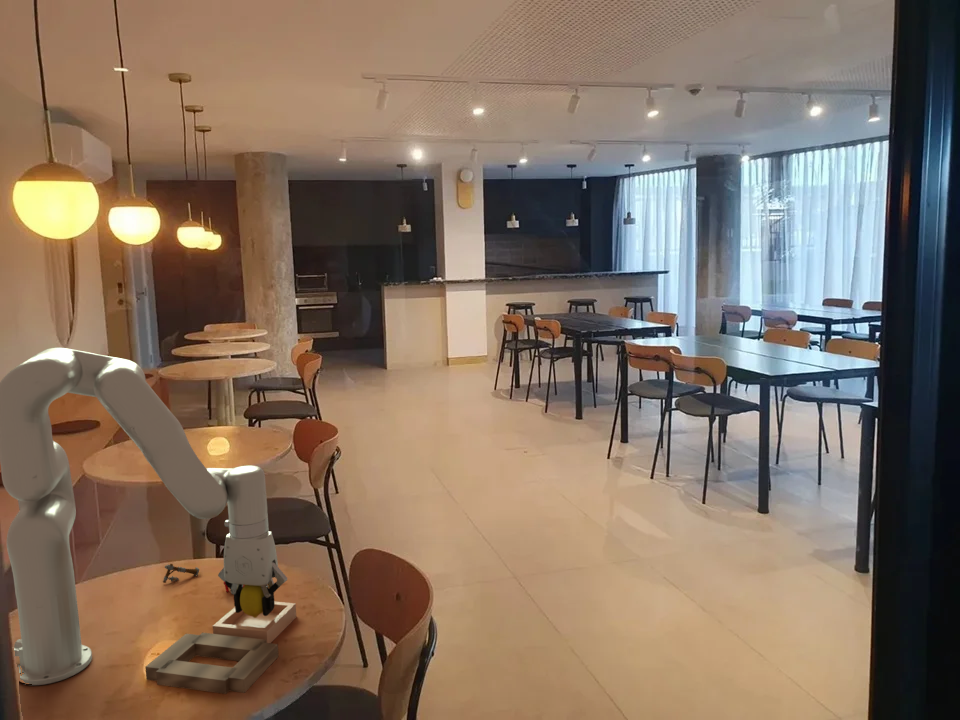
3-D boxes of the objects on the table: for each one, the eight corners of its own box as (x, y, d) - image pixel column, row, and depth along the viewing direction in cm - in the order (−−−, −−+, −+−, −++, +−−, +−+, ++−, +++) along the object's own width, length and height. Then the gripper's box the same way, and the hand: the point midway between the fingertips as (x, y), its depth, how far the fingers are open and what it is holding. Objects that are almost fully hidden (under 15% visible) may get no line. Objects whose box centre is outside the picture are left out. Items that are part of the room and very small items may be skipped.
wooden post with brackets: (158, 580, 173) (165, 561, 174) (190, 584, 178) (197, 566, 179) (160, 583, 172) (167, 564, 173) (193, 587, 177) (199, 568, 178)
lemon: (235, 620, 151) (232, 583, 149) (255, 608, 155) (252, 572, 154) (255, 626, 148) (252, 588, 147) (275, 614, 153) (272, 577, 152)
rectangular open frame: (142, 682, 133) (141, 669, 133) (190, 642, 147) (189, 631, 146) (241, 695, 129) (240, 682, 128) (281, 653, 142) (280, 641, 142)
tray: (213, 639, 148) (212, 625, 147) (245, 611, 159) (244, 598, 159) (267, 646, 145) (266, 631, 144) (296, 616, 156) (295, 603, 156)
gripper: (200, 531, 147) (207, 616, 150) (278, 537, 143) (283, 624, 146) (221, 518, 155) (228, 599, 157) (296, 523, 150) (301, 606, 153)
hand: (254, 610), depth 151 cm, fingers closed on lemon, 5 cm apart
